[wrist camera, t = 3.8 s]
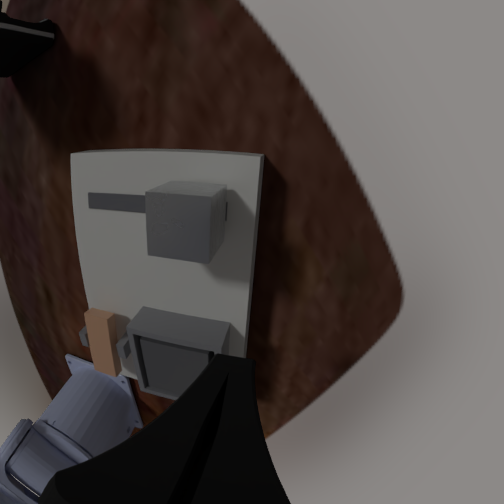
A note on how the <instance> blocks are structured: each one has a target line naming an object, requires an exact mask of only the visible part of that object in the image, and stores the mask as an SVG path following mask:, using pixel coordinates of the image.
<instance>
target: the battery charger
mask: <svg viewBox="0 0 504 504" xmlns="http://www.w3.org/2000/svg"><path fill="white" fill-rule="evenodd" d="M1 9H2V1H1V0H0V77H9V76H11V75H12V74H13V73H14V72H16V71H17V70H19V69H20V68H21V67H23V66H24V65H25V64H27V63H28V62H29V61H31V60H32V59H34V58H35V57H36V56H38V55H39V54H41V53H42V52H44V51H45V50H46V49H48V48H49V47H51V46H52V44H53V40H54V34H53V31H54V28H53V23H52V21H51V20H49V19H43V20H42V21H40V22H39V23H30V22H25V21H21V20H17V19H13V18H10V17H9V16H8V15H7V14H6V13H3V12H1Z"/></svg>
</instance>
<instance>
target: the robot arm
mask: <svg viewBox="0 0 504 504" xmlns="http://www.w3.org/2000/svg"><path fill="white" fill-rule="evenodd" d="M65 358H66V361H67V363H68V366H69V368H70V371H71V373H72V376H71V377H70V379H69V380H68V381H67V382H66V384H65V385H64V386H63V388H62V389H61V390H60V392H59V393H58V394H57V395H56V397H55V398H54V399H53V401H52V402H51V404H50V405H49V406H48V407H47V409H46V410H45V411H44V413H43V414H42V416H41V417H40V418H39V419H38V420H37V421H36V422H35V423H34V424H33V425H32V423H33V422H32V421H31V420H30V419H27V420H26V419H21V420H20V422H19V423H18V424H17V425H16V427H15V428H14V429H13V431H12V432H11V434H10V435H9V436H8V438H7V439H6V441H5V442H4V443H3V445H2V446H1V448H0V504H291V503H290V501H289V499H288V497H287V496H286V493H285V491H284V488H283V486H282V484H281V482H280V480H279V478H278V475H277V473H276V470H275V468H274V465H273V462H272V460H271V457H270V454H269V451H268V448H267V444H266V441H265V437H264V434H263V430H262V426H261V421H260V417H259V412H258V406H257V400H256V392H255V365H256V362H255V361H254V360H253V359H248V358H242V357H236V356H230V355H224V354H219V353H217V354H215V355H214V356H213V358H212V359H211V361H210V362H209V363H208V365H207V366H206V367H205V369H204V370H203V371H202V372H201V374H200V375H199V376H198V377H197V378H196V380H195V381H194V382H193V383H192V384H191V385H190V386H189V387H188V388H187V389H186V391H185V392H184V393H183V394H182V395H181V396H180V397H179V398H178V399H177V400H176V401H175V402H174V403H172V404H171V405H170V406H169V407H168V408H167V409H166V410H165V411H164V412H163V413H162V414H160V415H159V416H158V417H157V418H156V419H154V420H153V421H152V422H151V423H149V424H148V425H147V426H145V427H144V428H143V423H142V420H141V417H140V414H139V411H138V408H137V405H136V402H135V398H134V395H133V392H132V388H131V385H130V382H129V378H128V377H127V376H124V375H121V374H119V375H118V376H117V377H113V376H110V375H108V374H105V373H102V372H99V371H96V370H95V369H94V364H93V363H91V362H88V361H86V360H83V359H81V358H78V357H75V356H73V355H70V354H67V355H66V356H65ZM134 427H137V428H143V429H141V430H140V431H139V432H137V433H136V434H134V435H133V436H131V437H130V435H131V433H132V431H133V429H134ZM129 437H130V438H129ZM11 474H12V475H13V476H14V477H15V478H17V479H18V480H19V481H20V482H22V483H23V484H24V485H25V486H27V487H28V488H29V489H31V490H32V491H33V492H35V493H36V494H37V495H39V496H40V497H38V496H37V495H35V494H34V493H33V492H31V491H30V490H29V489H27V488H26V487H25V486H23V485H22V484H21V483H20V482H18V481H17V480H16V479H15V478H14V477H13V476H12V475H11Z"/></svg>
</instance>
